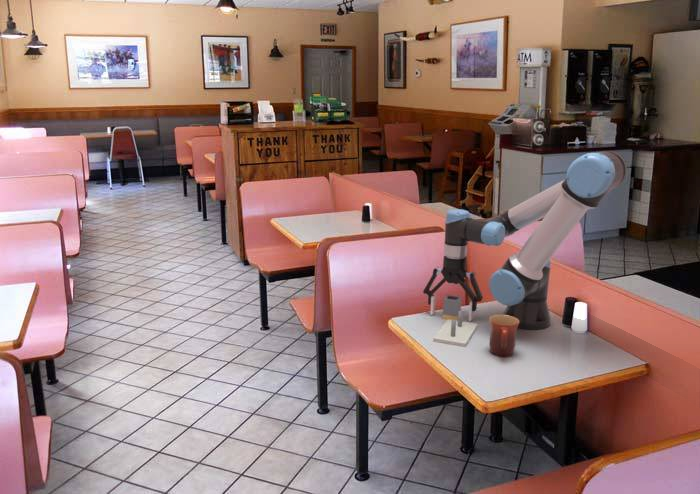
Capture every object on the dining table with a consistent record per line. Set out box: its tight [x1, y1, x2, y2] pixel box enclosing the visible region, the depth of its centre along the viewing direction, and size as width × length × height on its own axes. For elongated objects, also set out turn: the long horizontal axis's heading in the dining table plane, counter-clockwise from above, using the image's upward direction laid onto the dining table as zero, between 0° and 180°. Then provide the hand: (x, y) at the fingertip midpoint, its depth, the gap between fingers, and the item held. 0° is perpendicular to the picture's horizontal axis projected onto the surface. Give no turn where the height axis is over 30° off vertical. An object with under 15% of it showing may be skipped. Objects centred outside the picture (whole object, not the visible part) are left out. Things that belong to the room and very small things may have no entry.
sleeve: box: [442, 294, 463, 321], centre depth 215 cm, size 5×5×7 cm
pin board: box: [432, 310, 479, 348], centre depth 201 cm, size 10×18×6 cm, turn 157°
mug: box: [488, 314, 520, 357], centre depth 186 cm, size 12×9×10 cm
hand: (451, 316), depth 216 cm, fingers open, 12 cm apart
